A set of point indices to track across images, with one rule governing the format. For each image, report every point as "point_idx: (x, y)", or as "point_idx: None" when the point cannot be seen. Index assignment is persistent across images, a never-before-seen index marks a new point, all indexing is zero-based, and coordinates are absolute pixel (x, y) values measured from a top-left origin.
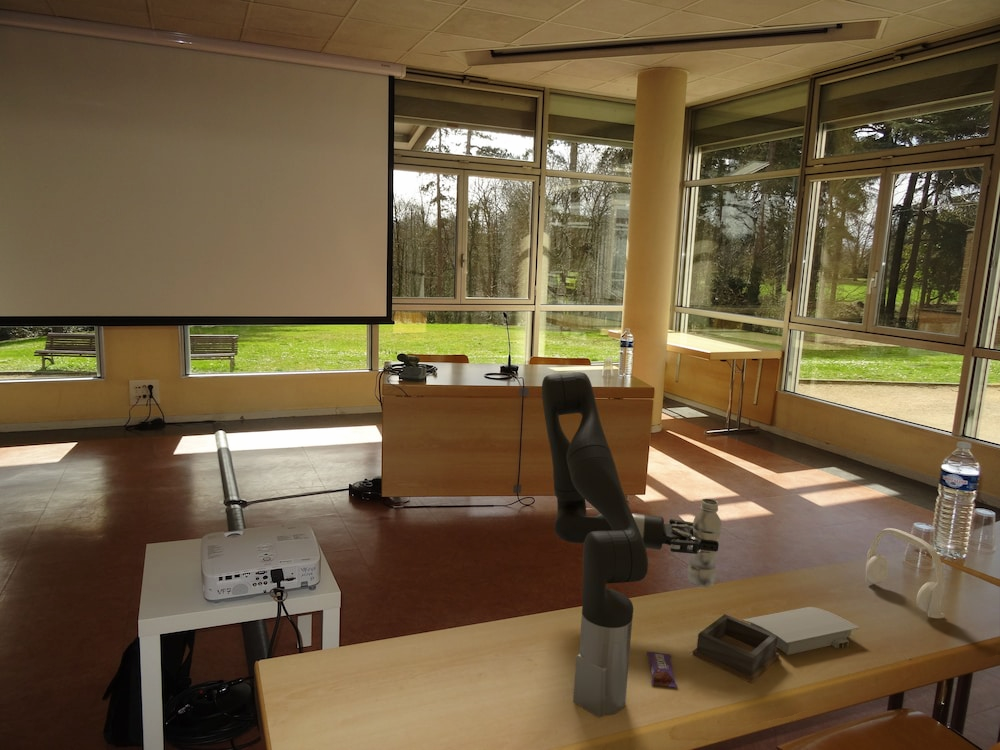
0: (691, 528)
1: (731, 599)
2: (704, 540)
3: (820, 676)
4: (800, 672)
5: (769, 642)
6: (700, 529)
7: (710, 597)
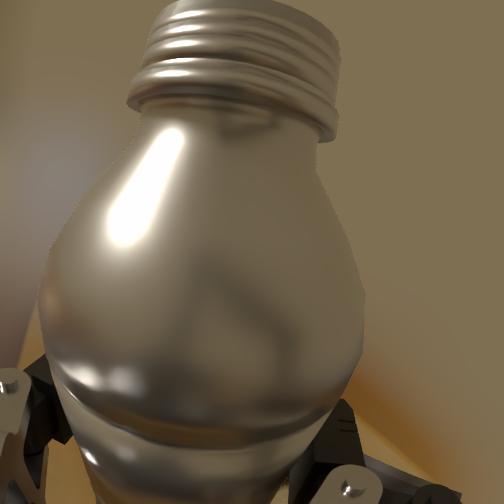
0: (18, 435)
1: (75, 463)
2: (336, 445)
3: (365, 434)
4: (367, 455)
5: (388, 466)
6: (336, 395)
7: (54, 501)
